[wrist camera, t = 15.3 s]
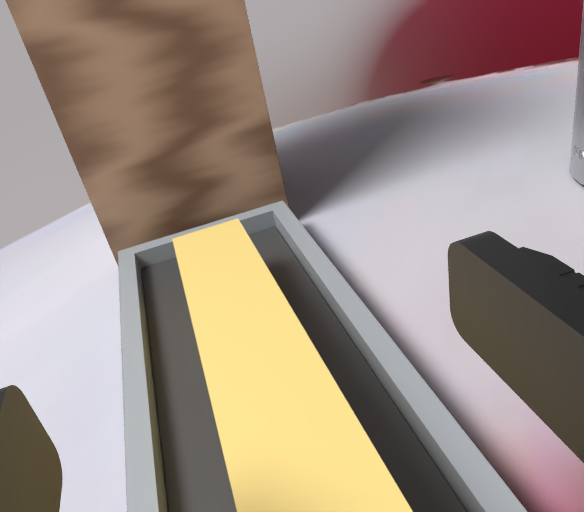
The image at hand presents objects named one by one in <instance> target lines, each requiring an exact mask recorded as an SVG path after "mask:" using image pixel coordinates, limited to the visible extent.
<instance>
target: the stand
mask: <svg viewBox="0 0 584 512" xmlns="http://www.w3.org/2000/svg"><path fill="white" fill-rule="evenodd" d="M6 2H7V5H8V7H9V9H10V12H11V14H12V16H13V19H14V21H15V23H16V26H17V28H18V31H19V33H20V35H21V38H22V40H23V42H24V45H25V47H26V50H27V52H28V54H29V57H30V59H31V61H32V64H33V66H34V68H35V71H36V73H37V75H38V78H39V80H40V83H41V85H42V87H43V90H44V92H45V94H46V97H47V99H48V101H49V104H50V106H51V109H52V111H53V113H54V115H55V118H56V120H57V123H58V125H59V127H60V130H61V132H62V134H63V137H64V139H65V142H66V144H67V146H68V149H69V151H70V153H71V156H72V158H73V160H74V163H75V165H76V168H77V170H78V172H79V175H80V177H81V179H82V182H83V184H84V187H85V189H86V191H87V193H88V196H89V198H90V200H91V203H92V205H93V208H94V210H95V213H96V215H97V217H98V220H99V222H100V224H101V227H102V229H103V231H104V234H105V236H106V238H107V241H108V243H109V246H110V248H111V250H112V253H113V255H114V257H115V260H116V262H117V264H118V251H120V250H124V249H127V248H130V247H133V246H137V245H140V244H143V243H146V242H150V241H153V240H156V239H159V238H163V237H166V236H169V235H172V234H176V233H179V232H182V231H185V230H189V229H192V228H195V227H198V226H202V225H205V224H208V223H211V222H214V221H218V220H221V219H224V218H227V217H231V216H234V215H237V214H240V213H244V212H247V211H250V210H253V209H257V208H260V207H263V206H266V205H270V204H273V203H276V202H279V201H284V203H285V204H286V205H287V206H288V202H287V197H286V192H285V188H284V183H283V178H282V174H281V169H280V164H279V160H278V155H277V150H276V146H275V141H274V136H273V132H272V127H271V122H270V118H269V113H268V109H267V104H266V99H265V95H264V90H263V85H262V81H261V76H260V72H259V67H258V62H257V57H256V53H255V48H254V43H253V39H252V34H251V29H250V24H249V20H248V16H247V11H246V6H245V1H244V0H6ZM288 208H289V206H288ZM118 267H119V266H118Z"/></svg>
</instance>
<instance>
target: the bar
mask: <svg viewBox="0 0 584 512" xmlns="http://www.w3.org/2000/svg"><path fill="white" fill-rule="evenodd" d="M172 240H173V245H174V249H175V253H176V257H177V261H178V266H179V270H180V274H181V278H182V282H183V287H184V291H185V295H186V299H187V303H188V308H189V312H190V316H191V320H192V324H193V329H194V333H195V337H196V341H197V345H198V350H199V354H200V358H201V362H202V366H203V371H204V375H205V379H206V383H207V387H208V392H209V396H210V400H211V404H212V408H213V413H214V417H215V421H216V425H217V429H218V434H219V438H220V442H221V446H222V450H223V455H224V459H225V463H226V467H227V471H228V476H229V480H230V484H231V488H232V492H233V497H234V501H235V505H236V509H237V512H413V511H412V509H411V508H410V506H409V504H408V503H407V501H406V499H405V498H404V496H403V494H402V493H401V491H400V489H399V488H398V486H397V484H396V483H395V481H394V479H393V478H392V476H391V474H390V473H389V471H388V469H387V467H386V466H385V464H384V462H383V461H382V459H381V457H380V456H379V454H378V452H377V451H376V449H375V447H374V446H373V444H372V442H371V441H370V439H369V437H368V436H367V434H366V432H365V431H364V429H363V427H362V426H361V424H360V422H359V420H358V419H357V417H356V415H355V414H354V412H353V410H352V409H351V407H350V405H349V404H348V402H347V400H346V399H345V397H344V395H343V394H342V392H341V390H340V389H339V387H338V385H337V384H336V382H335V380H334V378H333V377H332V375H331V373H330V372H329V370H328V368H327V367H326V365H325V363H324V362H323V360H322V358H321V357H320V355H319V353H318V352H317V350H316V348H315V347H314V345H313V343H312V342H311V340H310V338H309V337H308V335H307V333H306V331H305V330H304V328H303V326H302V325H301V323H300V321H299V320H298V318H297V316H296V315H295V313H294V311H293V310H292V308H291V306H290V305H289V303H288V301H287V300H286V298H285V296H284V295H283V293H282V291H281V290H280V288H279V286H278V284H277V283H276V281H275V279H274V278H273V276H272V274H271V273H270V271H269V269H268V268H267V266H266V264H265V263H264V261H263V259H262V258H261V256H260V254H259V253H258V251H257V249H256V248H255V246H254V244H253V243H252V241H251V239H250V237H249V236H248V234H247V232H246V231H245V229H244V227H243V226H242V224H241V222H240V221H239V219H238V218H237V219H234V220H231V221H228V222H224V223H221V224H218V225H215V226H211V227H208V228H205V229H202V230H199V231H195V232H192V233H189V234H186V235H183V236H179V237H176V238H173V239H172Z"/></svg>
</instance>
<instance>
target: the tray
mask: <svg viewBox="0 0 584 512" xmlns="http://www.w3.org/2000/svg"><path fill="white" fill-rule="evenodd" d="M237 218H238V219H239V221H240V222H241V224H242V226H243V227H244V229H245V231H246V232H247V234H248V236H249V237H250V239H251V241H252V243H253V244H254V246H255V248H256V249H257V251H258V253H259V254H260V256H261V258H262V259H263V261H264V263H265V264H266V266H267V268H268V269H269V271H270V273H271V274H272V276H273V278H274V279H275V281H276V283H277V284H278V286H279V288H280V290H281V291H282V293H283V295H284V296H285V298H286V300H287V301H288V303H289V305H290V306H291V308H292V310H293V311H294V313H295V315H296V316H297V318H298V320H299V321H300V323H301V325H302V326H303V328H304V330H305V331H306V333H307V335H308V337H309V338H310V340H311V342H312V343H313V345H314V347H315V348H316V350H317V352H318V353H319V355H320V357H321V358H322V360H323V362H324V363H325V365H326V367H327V368H328V370H329V372H330V373H331V375H332V377H333V378H334V380H335V382H336V384H337V385H338V387H339V389H340V390H341V392H342V394H343V395H344V397H345V399H346V400H347V402H348V404H349V405H350V407H351V409H352V410H353V412H354V414H355V415H356V417H357V419H358V420H359V422H360V424H361V426H362V427H363V429H364V431H365V432H366V434H367V436H368V437H369V439H370V441H371V442H372V444H373V446H374V447H375V449H376V451H377V452H378V454H379V456H380V457H381V459H382V461H383V462H384V464H385V466H386V467H387V469H388V471H389V473H390V474H391V476H392V478H393V479H394V481H395V483H396V484H397V486H398V488H399V489H400V491H401V493H402V494H403V496H404V498H405V499H406V501H407V503H408V504H409V506H410V508H411V509H412V511H413V512H527V511H526V509H525V508H524V507H523V505H522V504H521V503H520V502H519V500H518V499H517V498H516V497H515V495H514V494H513V493H512V491H511V490H510V489H509V488H508V486H507V485H506V484H505V483H504V481H503V480H502V479H501V477H500V476H499V475H498V474H497V472H496V471H495V470H494V469H493V467H492V466H491V465H490V463H489V462H488V461H487V460H486V458H485V457H484V456H483V455H482V453H481V452H480V451H479V449H478V448H477V447H476V446H475V444H474V443H473V442H472V441H471V439H470V438H469V437H468V435H467V434H466V433H465V432H464V430H463V429H462V428H461V427H460V425H459V424H458V423H457V421H456V420H455V419H454V418H453V416H452V415H451V414H450V413H449V411H448V410H447V409H446V407H445V406H444V405H443V404H442V402H441V401H440V400H439V399H438V397H437V396H436V395H435V393H434V392H433V391H432V390H431V388H430V387H429V386H428V385H427V383H426V382H425V381H424V379H423V378H422V377H421V376H420V374H419V373H418V372H417V371H416V369H415V368H414V367H413V365H412V364H411V363H410V362H409V360H408V359H407V358H406V357H405V355H404V354H403V353H402V351H401V350H400V349H399V348H398V346H397V345H396V344H395V343H394V341H393V340H392V339H391V337H390V336H389V335H388V334H387V332H386V331H385V330H384V329H383V327H382V326H381V325H380V323H379V322H378V321H377V320H376V318H375V317H374V316H373V315H372V313H371V312H370V311H369V309H368V308H367V307H366V306H365V304H364V303H363V302H362V301H361V299H360V298H359V297H358V295H357V294H356V293H355V292H354V290H353V289H352V288H351V287H350V285H349V284H348V283H347V281H346V280H345V279H344V278H343V276H342V275H341V274H340V273H339V271H338V270H337V269H336V267H335V266H334V265H333V264H332V262H331V261H330V260H329V259H328V257H327V256H326V255H325V253H324V252H323V251H322V250H321V248H320V247H319V246H318V245H317V243H316V242H315V241H314V239H313V238H312V237H311V236H310V234H309V233H308V232H307V231H306V229H305V228H304V227H303V225H302V224H301V223H300V222H299V220H298V219H297V218H296V217H295V215H294V214H293V213H292V211H291V210H290V209H289V208H288V206H287V205H286V204H285V203H284V201H279V202H276V203H273V204H270V205H266V206H263V207H260V208H257V209H253V210H250V211H247V212H244V213H240V214H237V215H234V216H231V217H227V218H224V219H221V220H218V221H214V222H211V223H208V224H205V225H202V226H198V227H195V228H192V229H189V230H185V231H182V232H179V233H176V234H172V235H169V236H166V237H163V238H159V239H156V240H153V241H150V242H146V243H143V244H140V245H137V246H133V247H130V248H127V249H124V250H120V251H118V266H119V295H120V324H121V352H122V381H123V410H124V439H125V468H126V496H127V512H237V509H236V505H235V501H234V497H233V492H232V488H231V484H230V480H229V476H228V471H227V467H226V463H225V459H224V455H223V450H222V446H221V442H220V438H219V434H218V429H217V425H216V421H215V417H214V413H213V408H212V404H211V400H210V396H209V392H208V387H207V383H206V379H205V375H204V371H203V366H202V362H201V358H200V354H199V350H198V345H197V341H196V337H195V333H194V329H193V324H192V320H191V316H190V312H189V308H188V303H187V299H186V295H185V291H184V287H183V282H182V278H181V274H180V270H179V266H178V261H177V257H176V253H175V249H174V245H173V240H172V239H173V238H176V237H179V236H183V235H186V234H189V233H192V232H195V231H199V230H202V229H205V228H208V227H211V226H215V225H218V224H221V223H224V222H228V221H231V220H234V219H237Z"/></svg>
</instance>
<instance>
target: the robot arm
mask: <svg viewBox="0 0 584 512" xmlns="http://www.w3.org/2000/svg"><path fill="white" fill-rule="evenodd" d="M570 172H571V174H572V176H573V178H574V179H575V180H577V181H578V182H579V183H580V184H582V185H584V3H583V15H582V27H581V40H580V51H579V64H578V76H577V88H576V100H575V112H574V124H573V137H572V150H571V163H570ZM448 271H449V293H450V311H451V316H452V319H453V322H454V325H455V327H456V329H457V331H458V333H459V334H460V336H461V337H462V338H463V339H464V341H465V342H466V343H467V344H468V345H469V346H470V347H471V348H472V349H473V350H474V351H475V352H476V353H477V354H478V355H479V356H480V357H481V358H482V359H483V360H484V361H485V362H486V363H487V364H488V365H489V366H490V367H491V368H492V369H493V370H494V371H495V372H496V373H497V374H498V376H499V377H500V378H501V379H502V380H503V381H504V382H505V383H506V384H507V385H508V386H509V387H510V388H511V389H512V390H513V391H514V392H515V393H516V394H517V395H518V396H519V397H520V398H521V399H522V400H523V401H524V402H525V403H526V404H527V405H528V406H529V407H530V408H531V409H532V410H533V411H534V412H535V413H536V415H537V416H538V417H539V418H540V419H541V420H542V421H543V422H544V423H545V424H546V425H547V426H548V427H549V428H550V429H551V430H552V431H553V432H554V433H555V434H556V435H557V436H558V437H559V438H560V439H561V440H562V441H563V442H564V443H565V444H566V445H567V446H568V447H569V448H570V449H571V450H572V451H573V452H574V454H575V455H576V456H577V457H578V458H579V459H580V460H581V461H582V462H583V463H584V275H582V274H580V273H575V271H574V269H572V268H571V267H569V266H568V265H566V264H564V263H563V262H561V261H560V260H558V259H556V258H555V257H553V256H551V255H548V254H545V253H541V252H538V251H535V250H532V249H528V248H525V247H522V248H519V249H518V248H517V247H515V246H514V245H512V244H511V243H509V242H508V241H506V240H505V239H503V238H502V237H500V236H499V235H497V234H496V233H494V232H491V231H487V232H484V233H481V234H478V235H475V236H471V237H468V238H465V239H462V240H459V241H456V242H453V243H452V244H450V246H449V249H448ZM61 490H62V468H61V463H60V459H59V455H58V452H57V450H56V448H55V446H54V444H53V442H52V441H51V439H50V437H49V436H48V434H47V432H46V431H45V429H44V427H43V426H42V424H41V422H40V421H39V419H38V417H37V416H36V414H35V412H34V411H33V409H32V407H31V406H30V404H29V402H28V401H27V399H26V397H25V396H24V394H23V393H22V391H21V390H20V389H19V388H18V387H16V386H14V385H11V386H8V387H5V388H2V389H0V512H59V508H60V499H61Z"/></svg>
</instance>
